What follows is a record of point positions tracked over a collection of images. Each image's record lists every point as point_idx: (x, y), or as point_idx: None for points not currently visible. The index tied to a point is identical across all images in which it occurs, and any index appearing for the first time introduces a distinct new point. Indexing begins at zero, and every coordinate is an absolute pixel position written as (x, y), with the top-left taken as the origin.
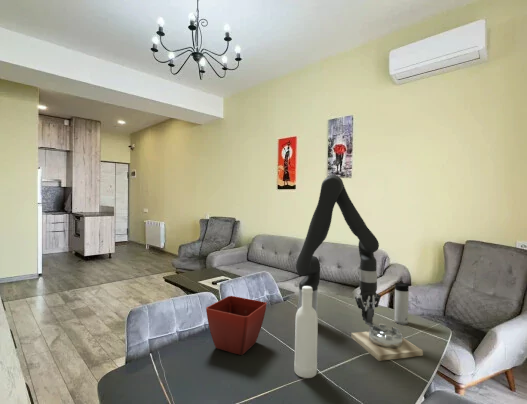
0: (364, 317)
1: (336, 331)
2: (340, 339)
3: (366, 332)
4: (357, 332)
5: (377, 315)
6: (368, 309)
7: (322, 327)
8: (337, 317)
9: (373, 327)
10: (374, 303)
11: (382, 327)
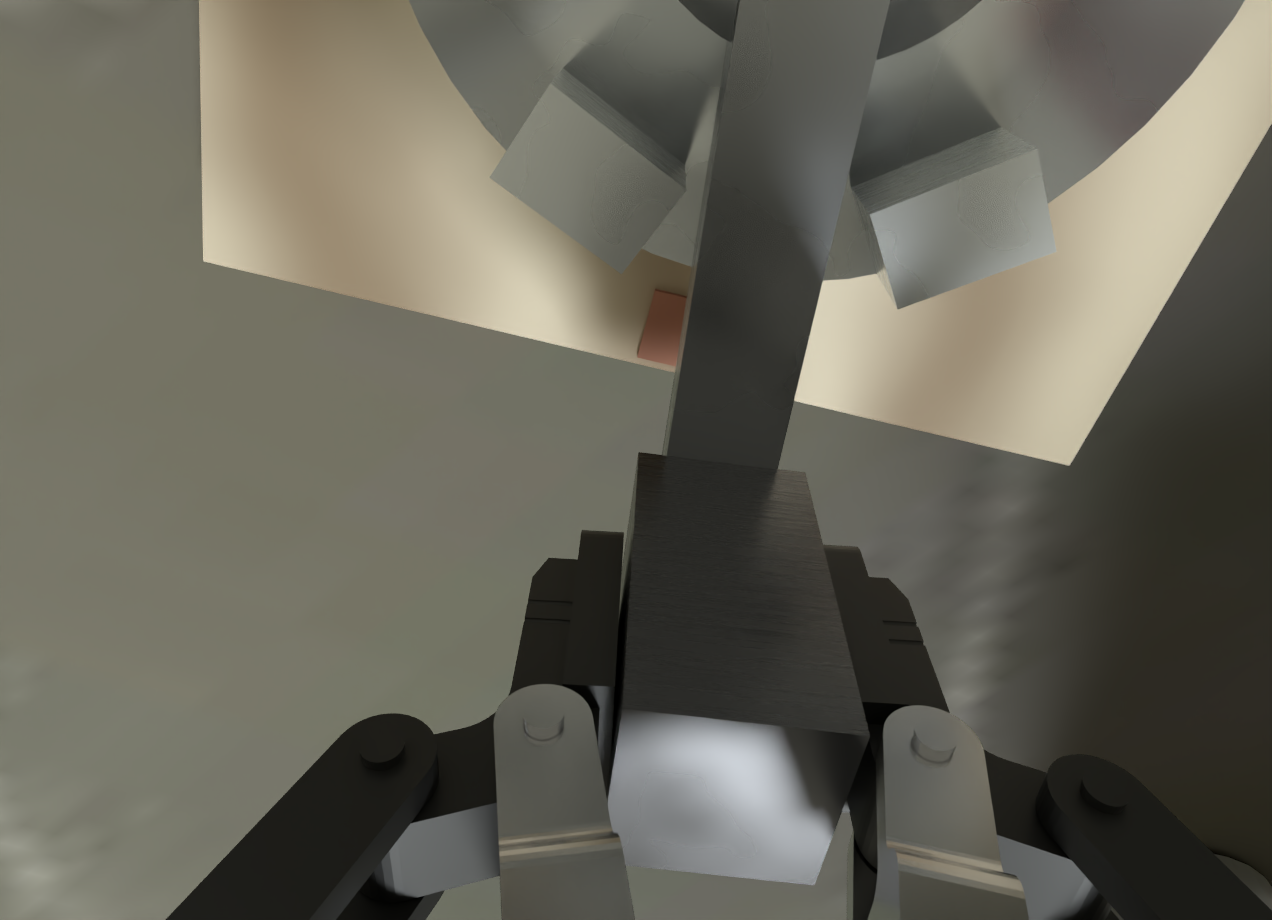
0: (884, 579)
1: (1039, 650)
2: (1262, 447)
3: None
4: (950, 435)
5: (3, 763)
6: (822, 716)
7: None
8: (634, 899)
9: (978, 165)
10: (536, 865)
11: (629, 125)
